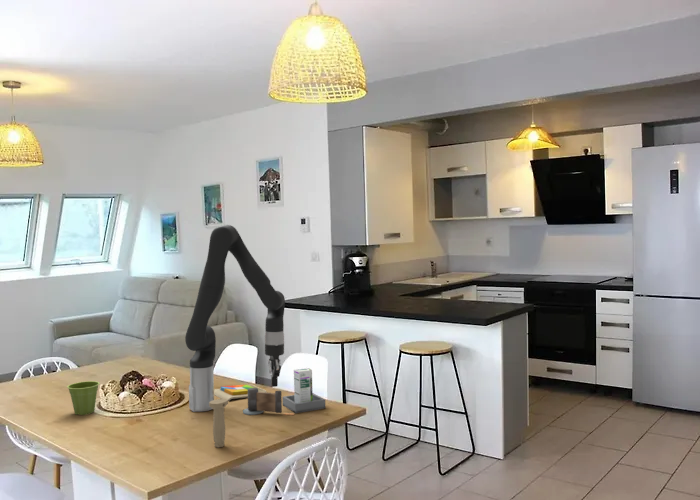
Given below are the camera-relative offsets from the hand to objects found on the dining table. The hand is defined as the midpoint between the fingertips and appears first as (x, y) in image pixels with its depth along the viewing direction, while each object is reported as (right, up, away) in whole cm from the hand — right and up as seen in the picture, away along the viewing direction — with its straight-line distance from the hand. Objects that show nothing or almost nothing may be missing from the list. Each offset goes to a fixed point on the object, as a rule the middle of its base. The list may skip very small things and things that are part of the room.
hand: (274, 386), depth 240 cm
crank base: (-3, -10, -1) cm, 11 cm away
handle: (-13, -12, -38) cm, 42 cm away
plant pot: (-76, -11, +2) cm, 76 cm away
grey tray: (+11, -10, +7) cm, 16 cm away
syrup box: (+11, -9, +7) cm, 16 cm away
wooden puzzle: (-19, -10, +28) cm, 35 cm away
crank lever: (-4, -9, -1) cm, 10 cm away
